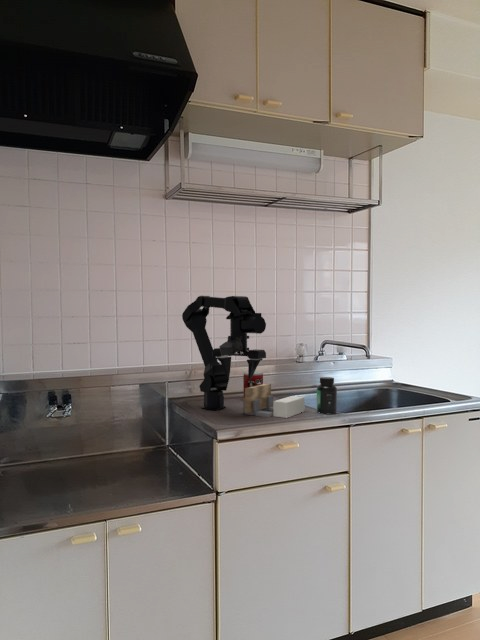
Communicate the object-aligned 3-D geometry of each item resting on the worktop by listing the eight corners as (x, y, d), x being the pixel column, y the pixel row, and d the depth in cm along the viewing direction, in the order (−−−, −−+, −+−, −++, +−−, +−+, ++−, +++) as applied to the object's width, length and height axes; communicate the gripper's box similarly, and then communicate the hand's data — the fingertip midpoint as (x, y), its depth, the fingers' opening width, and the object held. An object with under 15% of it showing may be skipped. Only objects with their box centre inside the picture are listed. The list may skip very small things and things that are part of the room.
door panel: (266, 405, 180) (266, 383, 180) (271, 406, 179) (271, 383, 178) (244, 411, 168) (244, 388, 168) (249, 412, 167) (249, 388, 167)
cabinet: (243, 413, 170) (243, 399, 170) (266, 406, 183) (266, 393, 183) (282, 419, 161) (282, 403, 161) (304, 411, 174) (304, 397, 174)
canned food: (241, 401, 194) (241, 373, 193) (246, 398, 201) (246, 371, 201) (260, 402, 192) (260, 373, 192) (264, 399, 200) (264, 371, 199)
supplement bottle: (317, 414, 170) (317, 378, 170) (316, 410, 176) (316, 376, 176) (337, 414, 169) (337, 379, 169) (336, 410, 176) (336, 376, 175)
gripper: (202, 333, 168) (202, 379, 169) (248, 334, 158) (248, 383, 158) (221, 332, 178) (221, 375, 178) (266, 333, 167) (266, 379, 167)
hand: (238, 378), depth 170 cm, fingers open, 9 cm apart
